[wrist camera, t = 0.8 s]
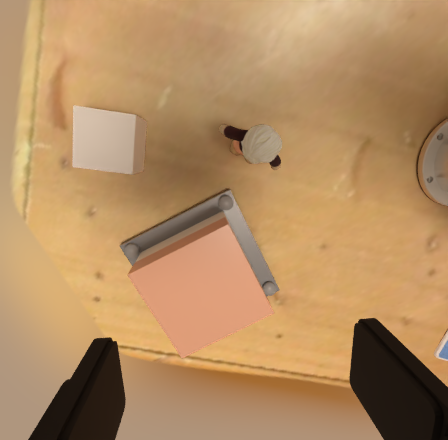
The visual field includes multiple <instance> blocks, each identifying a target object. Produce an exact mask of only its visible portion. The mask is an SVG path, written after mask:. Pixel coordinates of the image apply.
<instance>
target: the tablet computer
mask: <svg viewBox="0 0 448 440" xmlns="http://www.w3.org/2000/svg"><path fill="white" fill-rule="evenodd" d="M434 356H435V357H437V358H439V359H443V360H446V361H448V330H447V332H446V333H445V335H444V337H443V338H442V340H441V341H440V343H439V345H438V346H437V348H436V350H435V352H434Z"/></svg>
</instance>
